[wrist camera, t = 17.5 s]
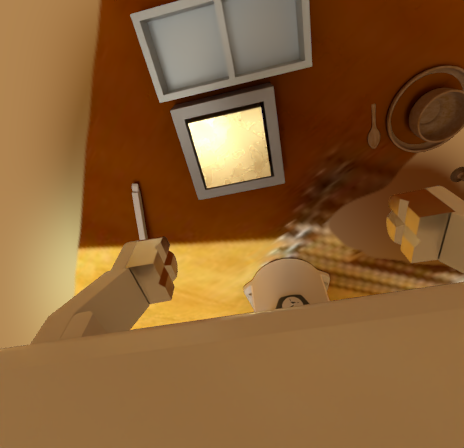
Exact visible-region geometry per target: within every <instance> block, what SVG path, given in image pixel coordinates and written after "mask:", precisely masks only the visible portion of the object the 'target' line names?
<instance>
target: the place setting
mask: <svg viewBox="0 0 464 448" xmlns="http://www.w3.org/2000/svg"><path fill="white" fill-rule="evenodd" d="M438 72H443V73H448V74H451V75H453V76H455V77H456V78H457V79H458V80H459V81H460V83H461V85H462V88H463V91H462V90H458V89H453V88H438V89H434V90H432V91H429V92H428V93H426V94H424V95H423V96H422V97H421V98H420V99H419V100H418V101H417V102H416V103H415V104H414V106H413V107H412V109H411V112H410V115H409V127H410V129H411V131H412V132H413V133H414V134H415V135H416V136H418V137H419V138H421V139H423V140H425V141H427V142H425V143H421V144H407V143H404V142H402V141H400V140H399V139H398V138H397V137H396V136H395V135H394V133H393V131H392V127H391V116H392V112H393V110H394V107H395V105H396V103H397V101H398V99H399V98H400V96H401V95H402V94H403V92H404V91H405V90H406V89H407V88H408V87H409V86H410V85H411V84H412V83H413V82H415V81H416V80H418V79H419V78H421V77H423V76H425V75H428V74H432V73H438ZM463 127H464V69H462V68H460V67H456V66H438V67H434V68H431V69H428V70H426V71H423V72H421V73H420V74H418V75H416V76H415V77H413V78H412V79H411V80H410V81H408V82H407V83H406V84H405V85H404V86H403V87H402V88H401V90H400V91H399V92H398V93H397V95H396V96H395V98H394V100H393V101H392V104H391V106H390V108H389V111H388V115H387V132H388V135H389V137H390V139H391V141H392V142H393V143H394V144H395V145H396V146H397V147H399V148H400V149H402V150H405V151H408V152H425V151H428V150H431V149H434V148H437V147H439V146H440V145H442V144H444V143H445V142H447V141H448V140H450V139H451V138H452V137H453V136H454V135H455V134H457V133H458V132H459V131H460V130H461V129H462V128H463ZM379 141H380V133H379V131H378V129H377V128H376V104H372V128H371V130H370V132H369V134H368V143H369V145H370V147H371V148H373V149H374V148H376V147H377V145H378V144H379ZM450 179H451V180H452V181H453V182H459V181H462V180H463V181H464V167H459V168H457V169H455V170H454V171H453V172H452V174H451V176H450Z"/></svg>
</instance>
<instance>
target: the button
mask: <svg viewBox="0 0 464 448" xmlns="http://www.w3.org/2000/svg"><path fill="white" fill-rule="evenodd" d="M188 125H189V128H190V132H191V135H192V138H193V142H194V145H195V148H196V152H197V155H198V159H199V162H200V165H201V169H202V172H203V176H204V179H205V182H206V186H207V188H212V187H217V186H222V185H227V184H232V183H237V182H242V181H247V180H252V179H257V178H262V177H267V176H271V172H270V165H269V158H268V151H267V144H266V138H265V131H264V124H263V117H262V111H261V106H260V104H259V102H258V103H254V104H250V105H245V106H241V107H237V108H232V109H228V110H223V111H219V112H215V113H210V114H206V115H202V116H197V117H193V118H191V119H190V121H189V123H188Z"/></svg>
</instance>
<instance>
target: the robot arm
mask: <svg viewBox="0 0 464 448" xmlns="http://www.w3.org/2000/svg"><path fill="white" fill-rule="evenodd" d="M388 206H389V208H390V209H391V210H392V212H391V213H390V214H389V215H388V216H387V223H386V225H387V230H388V233H389V235H390V238H391V239H392V240H393V241H394V242H395V243H398V244H400V245H401V251H402V252H403V254H404V255H405V256H406V257H407V258H408V260H409V261H410V262H411V263H416V262H423V261H430V260H439V261H440V262H442V263H444V264H446V265H448V266H450V267H452V268H454V269H456V270H458V271H460V272H462V273H464V201H463V200H462V199H460V198H459V197H457V196H456V195H454V194H453V193H451V192H450V191H449V190H447V189H445V188H444V187H442V186H434V187H430V188H425V189H421V190H416V191H412V192H406V193H401V194H396V195H392V196H391V197H390V199H389V204H388ZM169 247H170V244H169V242H168V240H167V238H166V237H164V236H163V237H157V238H150V239H144V240H139V241H132V242H127V243H125V244H124V246H123V248H122V250H121V252H120V254H119V256H118V258H117V260H116V261H115V263H114V265H113V267H112V269H111V271H108V272H106V273H104V274H103V275H102V276H100V277H99V278H98V279H97V280H95V281H94V282H93V283H91V284H90V285H89V286H87V287H86V288H85V289H84V290H82V291H81V292H80V293H78V294H77V295H76V296H74V297H73V298H72V299H71V300H69V301H68V302H67V303H65V304H64V305H63V306H62V307H60V308H59V309H58V310H56V311H55V312H54V313H52V314H51V315H50V316H49V317H48V318H47V320H46V321H45V323H44V324H43V326H42V327H41V329H40V330H39V332H38V333H37V335H36V336H35V338H34V339H33V341H32V342H31V344H30V345H23V346H16V347H10V348H3V349H0V448H464V282H459V283H452V284H445V285H438V286H432V287H425V288H418V289H411V290H404V291H397V292H390V293H383V294H376V295H369V296H362V297H355V298H348V299H341V300H334V301H330V300H329V297H328V294H327V290H328V286H329V282H330V276H329V274H328V273H326V272H323V271H319V270H317V269H316V268H315V267H313V266H312V265H311V264H309V263H308V262H305V261H303V260H299V259H280V260H276V261H273V262H271V263H269V264H267V265H265V266H264V267H262V268H261V269H260V270H259V271H258V272H257V274H256V275H255V277H254V278H253V280H252V281H251V282H249V283H248V284H246V285H245V286H244V288H243V290H244V293H245V295H246V297H247V299H248V300H249V302H250V304H251V305H252V307H253V309H254V312H252V313H245V314H238V315H231V316H224V317H217V318H210V319H204V320H197V321H190V322H183V323H176V324H169V325H162V326H155V327H148V328H141V329H134V330H130V329H131V328H132V326H133V325H134V324H135V323H136V321H137V320H138V319H139V318H140V316H141V315H142V314H143V313H144V312H145V310H146V309H147V308H148V307H149V304H153V303H159V302H164V301H169V300H171V299H172V295H173V291H174V284H173V281H174V280H175V279H176V277H177V272H178V271H177V262H176V258H175V256H174V254H173V253H172V252H170V251H169Z"/></svg>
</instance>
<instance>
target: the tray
mask: <svg viewBox="0 0 464 448" xmlns="http://www.w3.org/2000/svg"><path fill="white" fill-rule="evenodd" d="M130 16H131V19H132V22H133V25H134V28H135V31H136V34H137V37H138V40H139V43H140V46H141V48H142V51H143V54H144V57H145V60H146V63H147V66H148V69H149V72H150V75H151V78H152V81H153V84H154V87H155V90H156V93H157V96H158V99H159V102H160V103H162V102H166V101H170V100H175V99H179V98H183V97H187V96H191V95H195V94H200V93H204V92H208V91H212V90H216V89H220V88H225V87H229V86H233V85H237V84H241V83H245V82H250V81H254V80H258V79H262V78H266V77H270V76H275V75H279V74H283V73H287V72H291V71H295V70H300V69H304V68H308V67H312V51H311V30H310V9H309V0H179V1H176V2H172V3H169V4H165V5H162V6H158V7H154V8H151V9H147V10H144V11H140V12H137V13H133V14H130Z"/></svg>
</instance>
